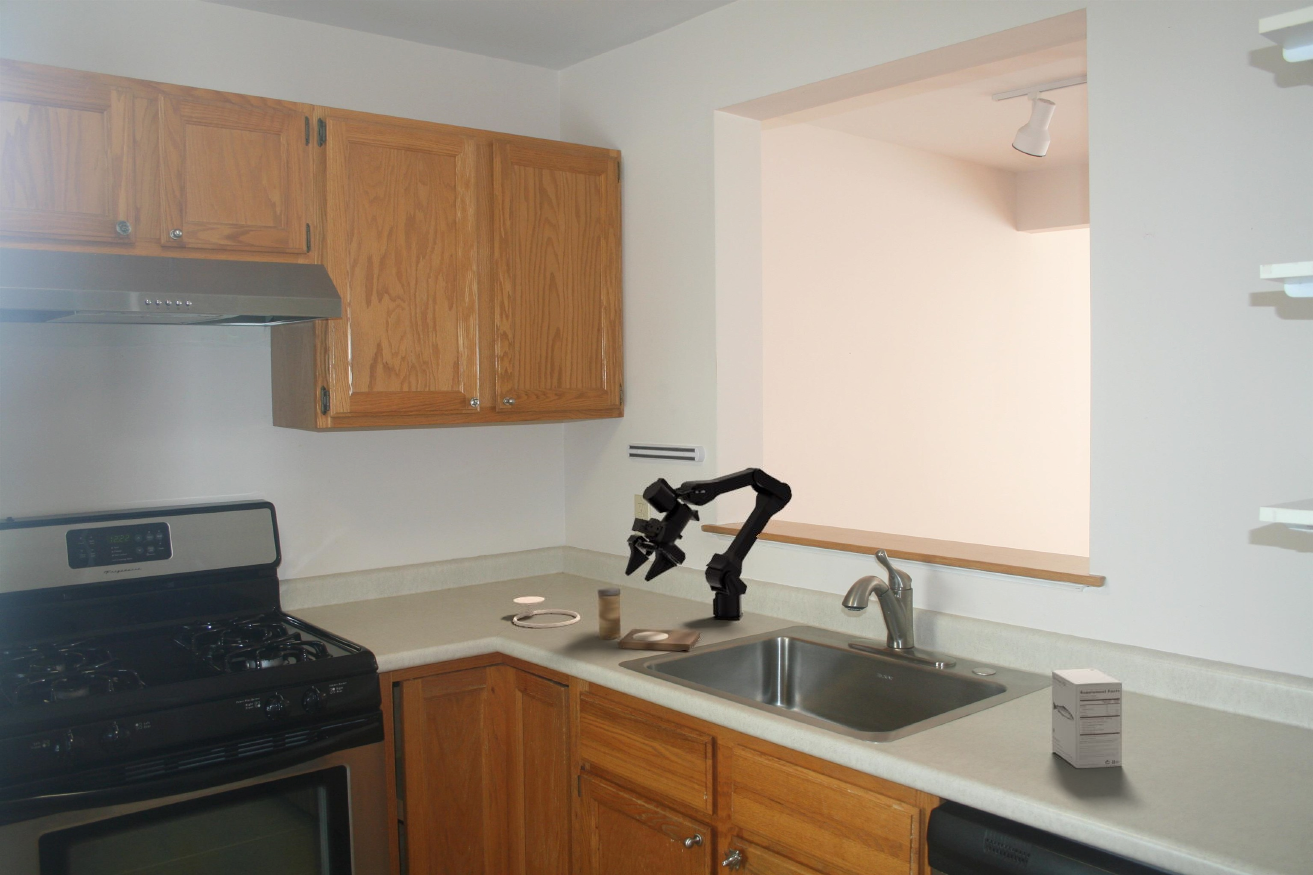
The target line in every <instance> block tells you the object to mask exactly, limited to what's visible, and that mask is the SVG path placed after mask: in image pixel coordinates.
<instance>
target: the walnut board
mask: <svg viewBox="0 0 1313 875" xmlns="http://www.w3.org/2000/svg"><path fill="white" fill-rule="evenodd" d="M699 638H700V639H701V631H700V630H676V629H675V630H674V629H673V630H672V629H671V630H669V629H646V628H644V629H643V628H631V630H630V631H629V632H628V633H626V634H625V635H624V636H623V637H622V638H621V639H619V641H618V649H629V650H630V649H631V650H635V649H636V650H656V651H657V650H659V651H661V650H662V651H677V650H690V649H691V648H692V647H693V648H694V646H695V645H696V644H697V643H698V641H699V640H700V639H699ZM698 639H699V640H698ZM696 642H697V643H696ZM693 648H692V649H693ZM692 649H691V650H692ZM691 650H690V651H691Z"/></svg>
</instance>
